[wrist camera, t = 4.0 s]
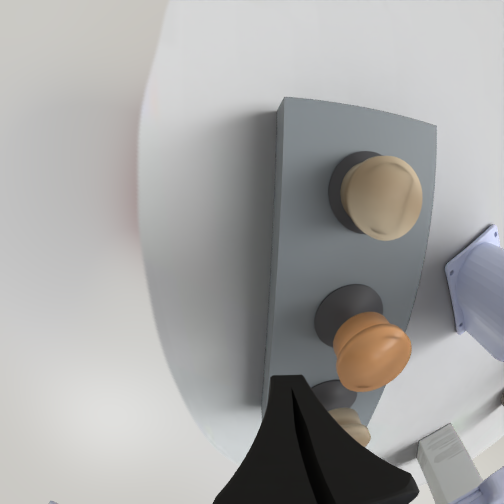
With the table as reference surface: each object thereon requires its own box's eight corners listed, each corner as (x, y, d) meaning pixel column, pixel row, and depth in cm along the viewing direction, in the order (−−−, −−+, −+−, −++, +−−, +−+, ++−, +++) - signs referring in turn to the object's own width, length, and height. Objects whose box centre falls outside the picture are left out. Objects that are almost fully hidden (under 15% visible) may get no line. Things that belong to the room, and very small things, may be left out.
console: (355, 400, 25) (366, 428, 21) (261, 406, 25) (262, 438, 21) (406, 129, 17) (438, 125, 13) (277, 110, 17) (284, 95, 13)
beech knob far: (353, 434, 18) (360, 455, 15) (303, 440, 18) (307, 463, 15) (368, 401, 17) (378, 425, 14) (312, 408, 16) (318, 434, 14)
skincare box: (445, 442, 31) (475, 500, 16) (413, 459, 32) (440, 522, 17) (451, 420, 29) (489, 487, 14) (416, 440, 29) (449, 513, 14)
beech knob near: (396, 231, 15) (416, 242, 13) (332, 228, 15) (346, 239, 13) (402, 161, 14) (425, 162, 12) (337, 152, 14) (352, 149, 11)
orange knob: (383, 362, 15) (397, 386, 13) (322, 368, 15) (331, 395, 13) (401, 305, 14) (420, 326, 12) (334, 308, 14) (348, 332, 12)
